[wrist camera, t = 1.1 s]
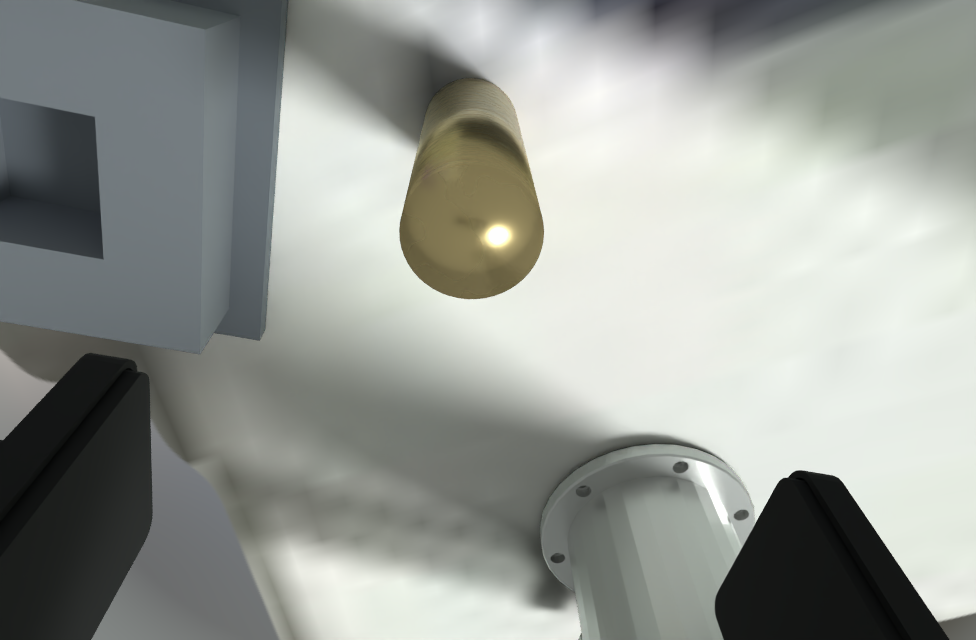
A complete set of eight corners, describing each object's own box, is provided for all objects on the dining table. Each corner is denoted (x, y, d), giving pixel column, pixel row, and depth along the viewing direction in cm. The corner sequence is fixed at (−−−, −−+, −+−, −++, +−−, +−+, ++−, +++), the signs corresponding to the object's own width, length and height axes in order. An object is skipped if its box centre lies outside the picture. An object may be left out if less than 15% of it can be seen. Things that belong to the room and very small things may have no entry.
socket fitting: (265, 330, 34) (235, 388, 30) (-82, 270, 32) (-168, 324, 28) (289, -20, 26) (254, -9, 22) (-165, -126, 24) (-302, -138, 20)
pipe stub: (505, 180, 31) (524, 310, 20) (417, 161, 30) (390, 285, 20) (527, 89, 29) (560, 181, 18) (433, 68, 28) (412, 150, 18)
